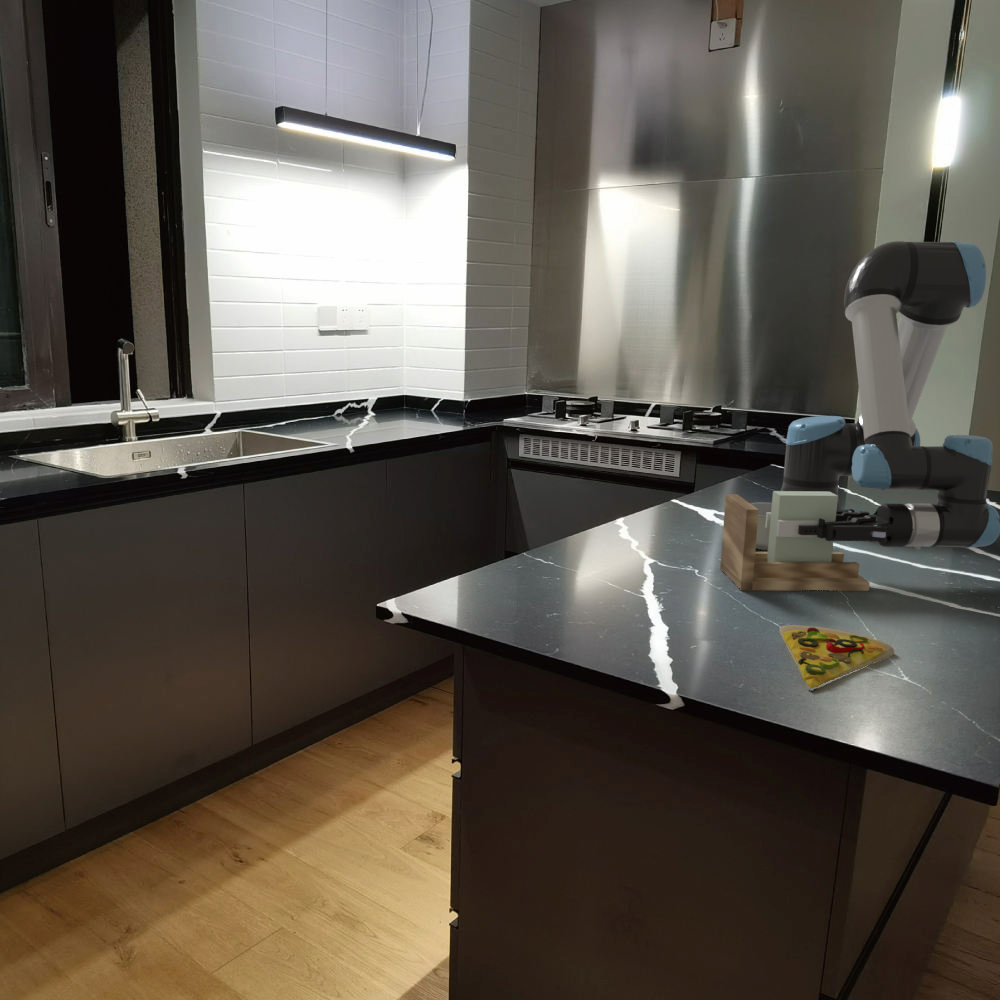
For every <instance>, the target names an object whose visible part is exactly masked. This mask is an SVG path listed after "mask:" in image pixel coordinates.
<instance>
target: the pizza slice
mask: <svg viewBox="0 0 1000 1000" xmlns="http://www.w3.org/2000/svg"><path fill="white" fill-rule="evenodd" d="M779 633H780V635H781V636H782V638H783V640H784V642H785V644H786V646H787V648H788V650H789V652H790V653H791V655H792V657H793V659H794V661H795V663H796V664H797V666H798V669H799V670H800V672H801V675H802V678H803V679H804V681H805V682H806V683H807V684H808V686H809V687H810V689H811V688H814V687H818V686H819V685H821V684H823V683H826V682H828V681H830V680H834V679H835V678H838V677H841V676H843V675H846V674H849V673H850V672H853V671H855V670H858V669H861V668H863V667H865V666H867V665H870V664H873V663H874V662H877V661H880V660H882V659H884V660H886V659H888V658H887V657H889V658H891V657H893V656H894V654H895V649H894V647H893V646H891V645H890V644H888V643H887V642H884V641H882V640H880V639H879V640H878V639H876V638H872V637H869V636H867V635H861V634H857V633H853V632H848V631H844V630H839V629H833V628H830V627H829V628H827V627H821V626H809V625H798V624H791V625H790V624H787V625H783V626H781V627H779V631H778V634H779ZM780 635H779V636H780ZM782 638H781V639H782ZM783 640H782V641H783ZM784 642H783V643H784ZM785 644H784V645H785ZM786 646H785V647H786ZM787 648H786V649H787ZM788 650H787V651H788ZM789 652H788V653H789ZM892 655H893V656H892ZM890 656H891V657H890ZM885 658H886V659H885ZM882 661H883V660H882ZM880 662H881V661H880ZM877 663H878V662H877ZM873 665H874V664H873ZM802 678H801V679H802Z"/></svg>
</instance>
